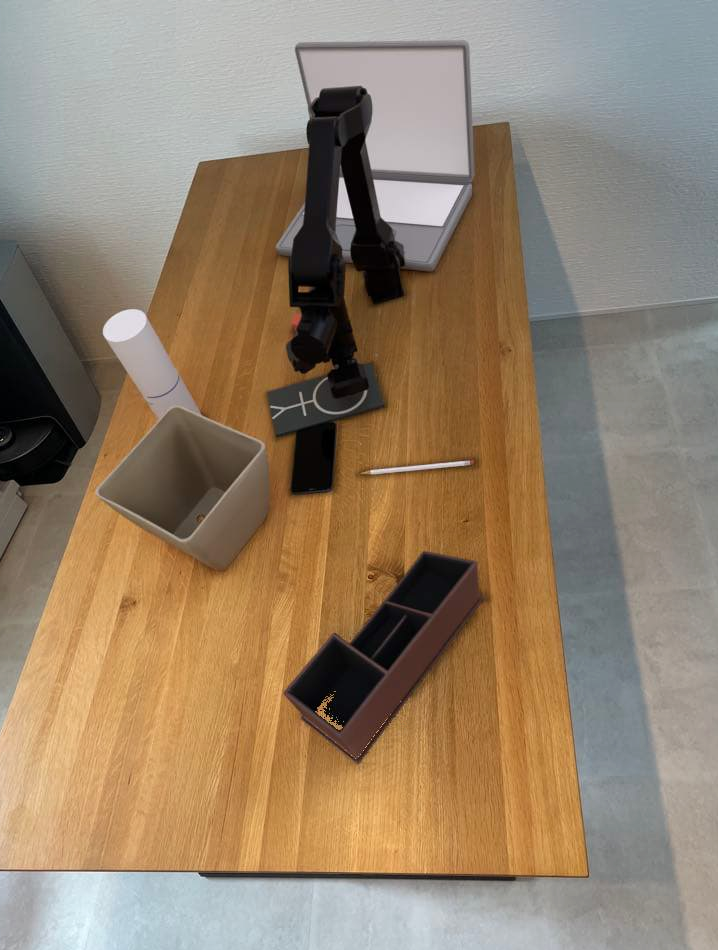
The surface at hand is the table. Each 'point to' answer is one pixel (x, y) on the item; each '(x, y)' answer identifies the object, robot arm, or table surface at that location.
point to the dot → (295, 321)
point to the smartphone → (314, 459)
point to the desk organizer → (386, 653)
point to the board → (319, 403)
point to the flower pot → (193, 486)
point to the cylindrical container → (147, 362)
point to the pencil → (419, 467)
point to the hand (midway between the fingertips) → (349, 386)
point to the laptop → (403, 137)
